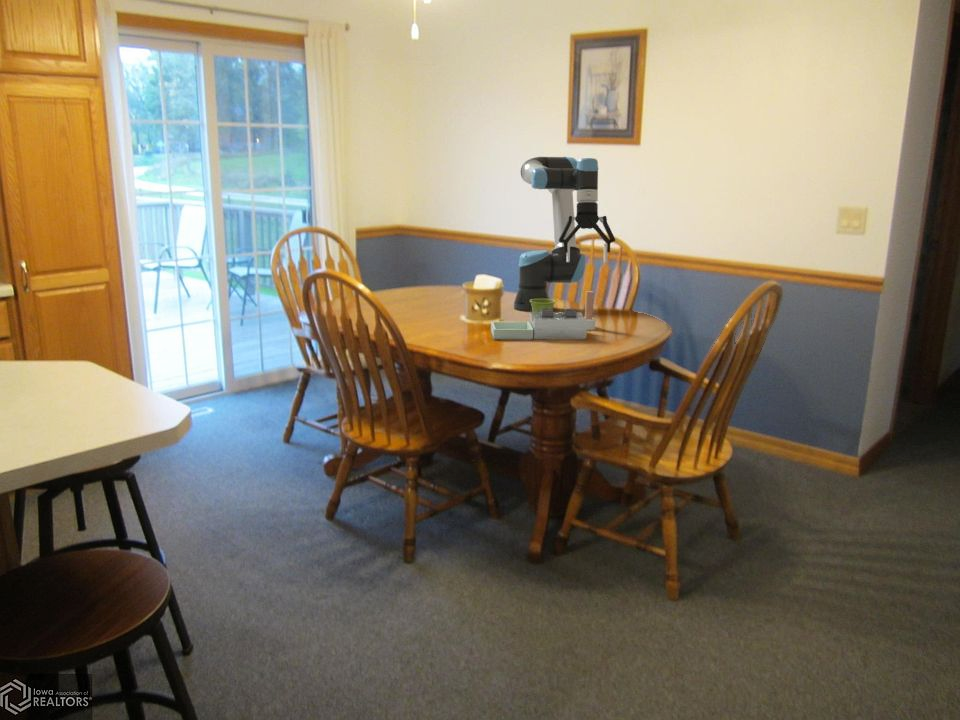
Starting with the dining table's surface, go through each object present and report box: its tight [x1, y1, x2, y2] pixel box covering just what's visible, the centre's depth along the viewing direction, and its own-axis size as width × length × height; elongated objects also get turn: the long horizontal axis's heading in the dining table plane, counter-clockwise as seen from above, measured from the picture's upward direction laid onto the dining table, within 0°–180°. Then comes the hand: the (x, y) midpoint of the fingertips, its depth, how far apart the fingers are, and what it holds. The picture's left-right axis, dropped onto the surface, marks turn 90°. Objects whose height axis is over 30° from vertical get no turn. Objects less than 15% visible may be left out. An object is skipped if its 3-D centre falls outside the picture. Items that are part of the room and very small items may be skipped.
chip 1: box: [541, 308, 555, 317], centre depth 278 cm, size 4×4×4 cm
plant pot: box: [530, 298, 556, 312], centre depth 298 cm, size 9×9×9 cm
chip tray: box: [490, 321, 534, 341], centre depth 279 cm, size 13×14×4 cm
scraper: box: [582, 290, 596, 331], centre depth 291 cm, size 5×4×14 cm
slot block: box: [529, 311, 588, 340], centre depth 279 cm, size 12×18×7 cm, turn 93°
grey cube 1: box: [562, 308, 578, 318], centre depth 279 cm, size 4×4×4 cm
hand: (586, 262), depth 290 cm, fingers open, 13 cm apart
